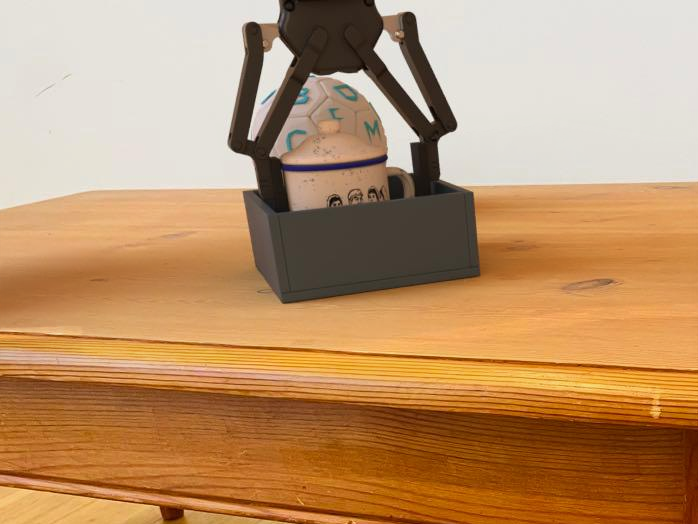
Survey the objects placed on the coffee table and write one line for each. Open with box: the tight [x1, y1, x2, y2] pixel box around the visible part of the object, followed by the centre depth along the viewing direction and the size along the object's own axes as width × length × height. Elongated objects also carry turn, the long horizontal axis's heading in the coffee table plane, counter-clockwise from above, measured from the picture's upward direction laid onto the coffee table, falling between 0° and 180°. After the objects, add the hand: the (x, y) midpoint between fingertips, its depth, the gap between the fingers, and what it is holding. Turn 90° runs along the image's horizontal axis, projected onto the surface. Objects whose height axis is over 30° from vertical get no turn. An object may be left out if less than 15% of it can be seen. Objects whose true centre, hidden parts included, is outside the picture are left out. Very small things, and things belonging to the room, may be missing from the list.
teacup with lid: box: [280, 119, 415, 212], centre depth 92 cm, size 12×9×12 cm
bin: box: [242, 172, 481, 304], centre depth 93 cm, size 17×17×7 cm
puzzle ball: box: [250, 74, 389, 182], centre depth 120 cm, size 15×15×15 cm
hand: (357, 230), depth 93 cm, fingers closed on teacup with lid, 12 cm apart
